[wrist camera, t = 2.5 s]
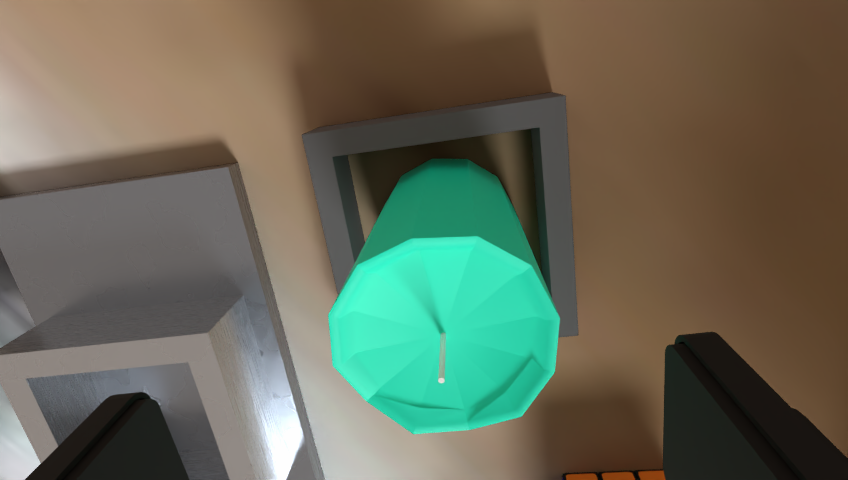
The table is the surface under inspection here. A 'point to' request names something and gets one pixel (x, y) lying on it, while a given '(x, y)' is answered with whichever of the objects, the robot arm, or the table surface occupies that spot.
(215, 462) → the port
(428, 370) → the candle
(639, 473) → the rubik's cube
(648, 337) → the table surface
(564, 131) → the grey flat square frame
